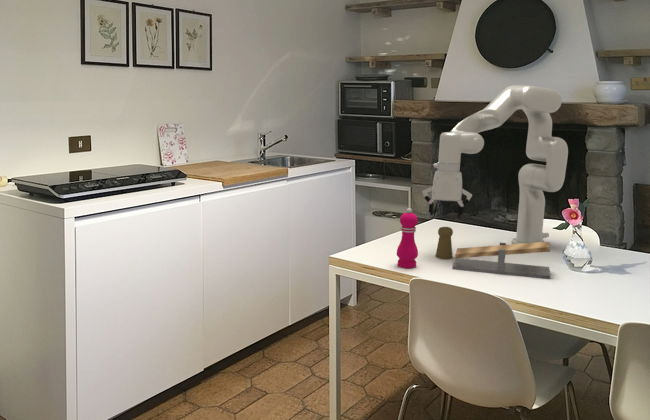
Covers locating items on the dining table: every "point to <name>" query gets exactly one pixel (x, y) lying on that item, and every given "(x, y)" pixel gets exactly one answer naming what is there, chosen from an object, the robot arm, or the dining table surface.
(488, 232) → the dining table surface
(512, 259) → the dining table surface
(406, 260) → the pepper mill
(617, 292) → the dining table surface
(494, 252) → the beam
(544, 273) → the stand
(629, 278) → the dining table surface
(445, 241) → the cork
